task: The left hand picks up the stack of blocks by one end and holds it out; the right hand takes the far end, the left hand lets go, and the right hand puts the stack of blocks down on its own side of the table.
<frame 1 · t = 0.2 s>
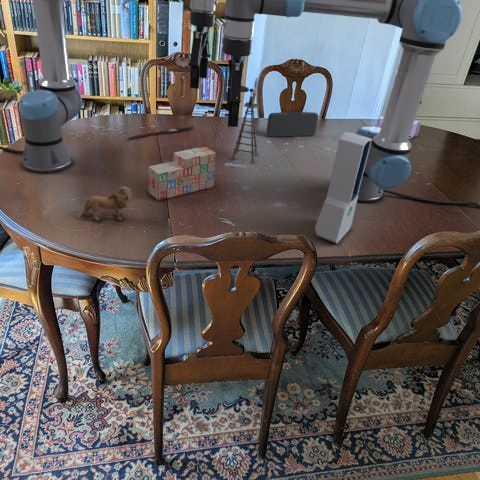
left hand: (198, 82, 152), 30 cm above the table, tool pointing down, fingers open, 13 cm apart
right hand: (231, 118, 132), 28 cm above the table, tool pointing down, fingers open, 13 cm apart
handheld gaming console: (290, 135, 206), on the table
sword: (161, 134, 193), on the table
electronic device: (332, 232, 139), on the table
lion figurine: (108, 216, 135), on the table
clip: (395, 134, 221), on the table
miniature windmill: (244, 157, 181), on the table
stack of blocks: (182, 189, 153), on the table
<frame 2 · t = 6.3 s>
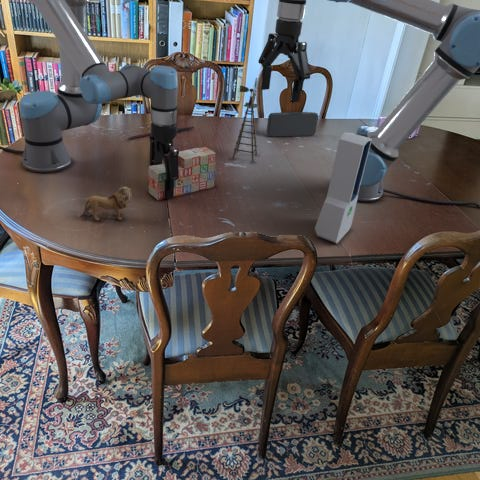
left hand: (163, 192, 149), 1 cm above the table, tool pointing down, fingers closed on stack of blocks, 6 cm apart
right hand: (279, 95, 142), 32 cm above the table, tool pointing down, fingers open, 13 cm apart
stack of blocks: (182, 189, 153), on the table, touching left hand
everything else where it was.
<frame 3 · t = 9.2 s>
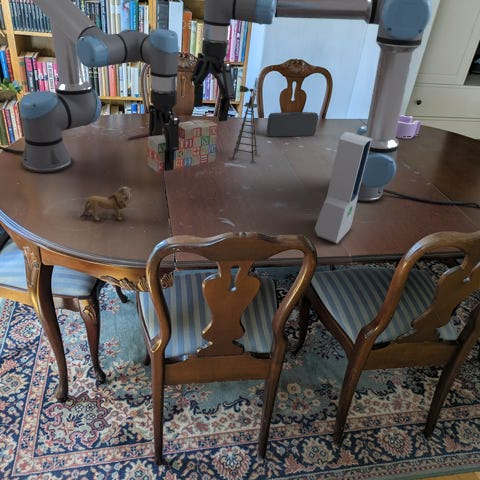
left hand: (163, 165, 144), 10 cm above the table, tool pointing down, fingers closed on stack of blocks, 6 cm apart
right hand: (210, 113, 144), 25 cm above the table, tool pointing down, fingers open, 13 cm apart
stack of blocks: (182, 163, 148), point 9 cm above the table, touching left hand
everything else where it was.
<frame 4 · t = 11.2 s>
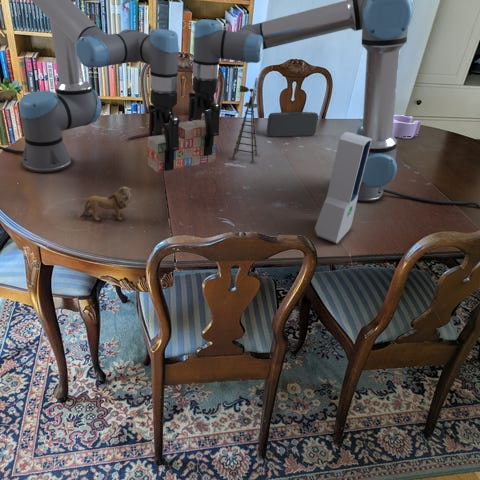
left hand: (163, 165, 144), 10 cm above the table, tool pointing down, fingers closed on stack of blocks, 6 cm apart
right hand: (201, 150, 150), 12 cm above the table, tool pointing down, fingers closed on stack of blocks, 6 cm apart
stack of blocks: (182, 163, 148), point 9 cm above the table, touching left hand, right hand
everything else where it was.
when the left hand's fingers open (10 cm above the table, at t = 12.1 s): stack of blocks stays where it is, held by the right hand.
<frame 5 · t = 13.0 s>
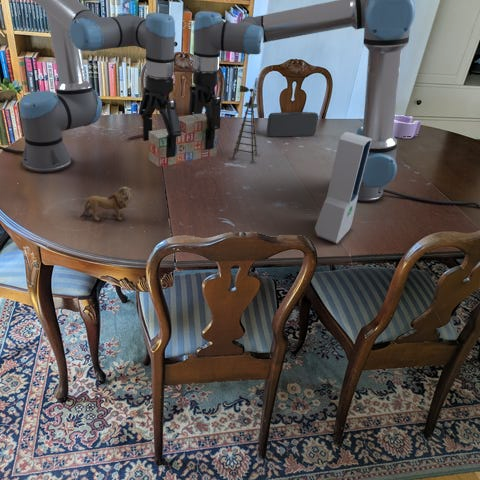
left hand: (158, 148, 140), 16 cm above the table, tool pointing down, fingers open, 13 cm apart
right hand: (203, 144, 149), 14 cm above the table, tool pointing down, fingers closed on stack of blocks, 6 cm apart
stack of blocks: (183, 157, 147), point 11 cm above the table, touching right hand
everything else where it was.
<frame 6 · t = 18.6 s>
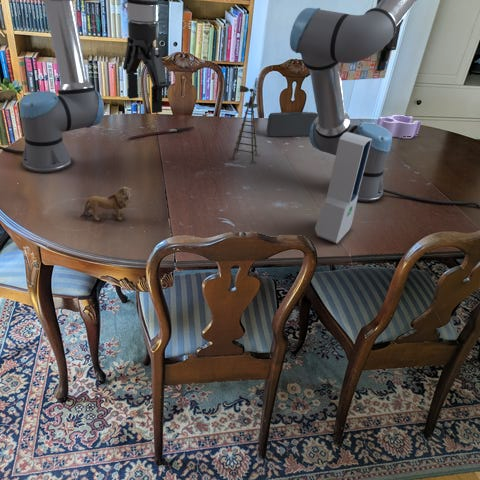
left hand: (144, 104, 130), 30 cm above the table, tool pointing down, fingers open, 13 cm apart
right hand: (373, 67, 164), 37 cm above the table, tool pointing down, fingers closed on stack of blocks, 6 cm apart
stack of blocks: (356, 77, 163), point 34 cm above the table, touching right hand
everything else where it was.
when the right hand's fingers open (4 cm above the table, at t = 25.8 s): stack of blocks drops 1 cm, on the table.
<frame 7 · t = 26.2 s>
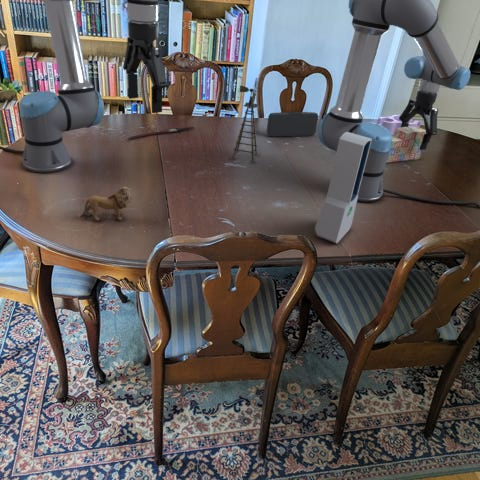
left hand: (144, 104, 130), 30 cm above the table, tool pointing down, fingers open, 13 cm apart
right hand: (411, 143, 194), 6 cm above the table, tool pointing down, fingers open, 12 cm apart
stack of blocks: (395, 158, 194), on the table
everything else where it was.
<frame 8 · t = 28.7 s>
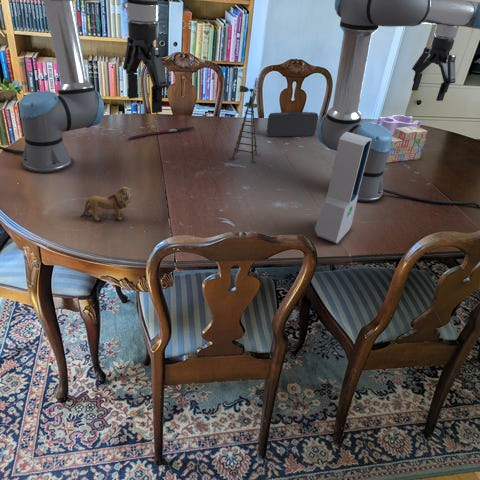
left hand: (144, 104, 130), 30 cm above the table, tool pointing down, fingers open, 13 cm apart
right hand: (426, 95, 183), 26 cm above the table, tool pointing down, fingers open, 13 cm apart
nothing on the table moved.
at the end: stack of blocks inside the target area (6.9 cm from its centre), on the table; the left hand is holding nothing; the right hand is holding nothing; stack of blocks at rest at the end (0.0 cm/s) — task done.
